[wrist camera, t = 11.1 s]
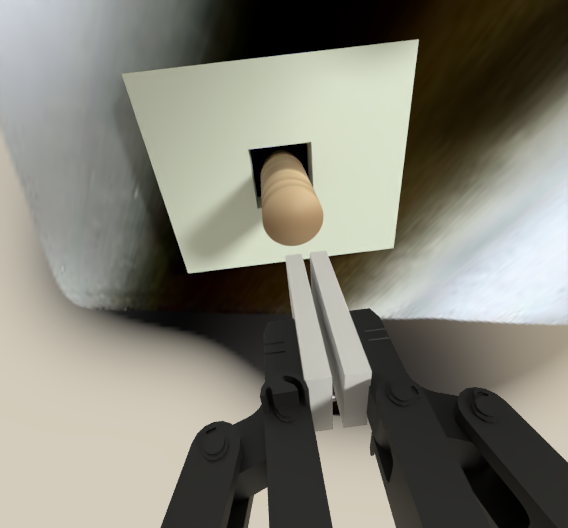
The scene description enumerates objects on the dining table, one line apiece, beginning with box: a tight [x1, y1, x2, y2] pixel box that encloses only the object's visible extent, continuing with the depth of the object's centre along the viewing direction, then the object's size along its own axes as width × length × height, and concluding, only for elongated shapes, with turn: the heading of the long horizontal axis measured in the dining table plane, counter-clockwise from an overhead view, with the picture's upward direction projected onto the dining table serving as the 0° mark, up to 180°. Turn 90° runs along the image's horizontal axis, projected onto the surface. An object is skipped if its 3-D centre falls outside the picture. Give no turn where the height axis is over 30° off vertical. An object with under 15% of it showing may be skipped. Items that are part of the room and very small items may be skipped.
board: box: [122, 39, 419, 273], centre depth 29 cm, size 18×22×3 cm
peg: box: [261, 150, 324, 246], centre depth 25 cm, size 4×4×12 cm
